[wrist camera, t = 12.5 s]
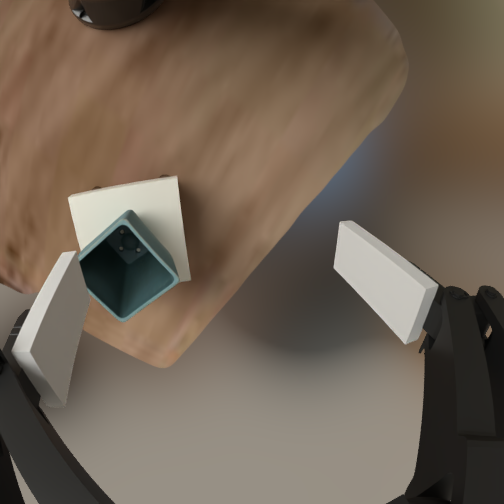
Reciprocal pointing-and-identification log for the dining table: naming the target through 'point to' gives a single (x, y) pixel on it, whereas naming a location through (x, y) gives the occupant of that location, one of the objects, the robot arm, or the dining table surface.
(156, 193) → the footstool
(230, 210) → the dining table surface
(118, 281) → the flower pot
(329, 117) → the dining table surface
